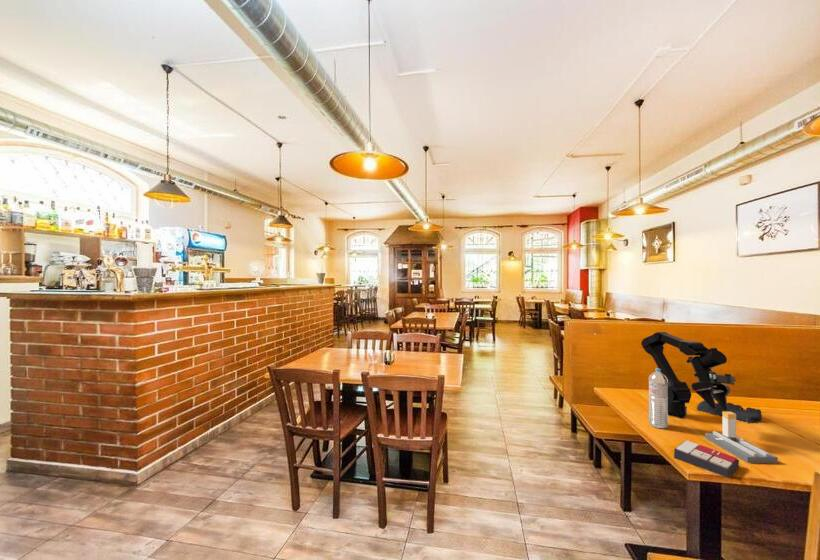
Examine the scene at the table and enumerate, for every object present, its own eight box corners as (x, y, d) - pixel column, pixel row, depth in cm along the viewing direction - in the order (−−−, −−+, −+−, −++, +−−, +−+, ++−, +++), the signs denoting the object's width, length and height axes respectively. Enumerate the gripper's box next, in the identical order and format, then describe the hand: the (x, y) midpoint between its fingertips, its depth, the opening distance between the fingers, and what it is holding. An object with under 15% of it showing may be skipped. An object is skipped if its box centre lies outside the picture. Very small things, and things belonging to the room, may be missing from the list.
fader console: (705, 438, 137) (705, 430, 137) (731, 438, 136) (731, 430, 136) (747, 462, 119) (747, 454, 119) (777, 463, 118) (777, 454, 118)
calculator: (729, 467, 110) (674, 446, 122) (728, 480, 110) (673, 458, 123) (739, 457, 116) (685, 438, 129) (738, 469, 116) (685, 449, 129)
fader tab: (721, 436, 133) (721, 411, 133) (729, 436, 133) (729, 411, 133) (728, 440, 130) (728, 414, 130) (736, 440, 130) (736, 414, 130)
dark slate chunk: (702, 403, 174) (702, 394, 174) (764, 417, 156) (764, 407, 156) (693, 411, 165) (693, 401, 165) (758, 426, 147) (758, 415, 147)
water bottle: (671, 429, 144) (671, 371, 144) (653, 428, 146) (653, 370, 145) (663, 423, 151) (662, 366, 151) (645, 421, 152) (645, 366, 152)
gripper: (714, 363, 135) (733, 404, 127) (736, 368, 143) (755, 407, 135) (683, 370, 143) (700, 409, 135) (706, 374, 151) (722, 411, 143)
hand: (720, 409), depth 137 cm, fingers open, 9 cm apart
